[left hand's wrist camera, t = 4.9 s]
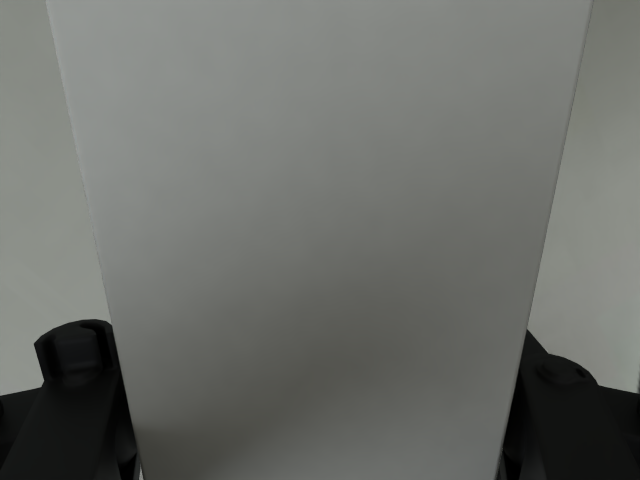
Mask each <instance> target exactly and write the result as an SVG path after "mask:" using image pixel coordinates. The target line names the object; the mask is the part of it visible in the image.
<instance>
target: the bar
mask: <svg viewBox="0 0 640 480" xmlns="http://www.w3.org/2000/svg"><path fill="white" fill-rule="evenodd" d="M593 2H594V0H46V5H47V10H48V15H49V20H50V25H51V29H52V34H53V39H54V44H55V49H56V54H57V59H58V64H59V69H60V73H61V78H62V83H63V88H64V93H65V98H66V103H67V108H68V113H69V117H70V122H71V127H72V132H73V137H74V142H75V147H76V152H77V156H78V161H79V166H80V171H81V176H82V181H83V186H84V191H85V196H86V200H87V205H88V210H89V215H90V220H91V225H92V230H93V235H94V240H95V244H96V249H97V254H98V259H99V264H100V269H101V274H102V279H103V284H104V288H105V293H106V298H107V303H108V308H109V313H110V318H111V323H112V328H113V332H114V337H115V342H116V347H117V352H118V357H119V362H120V367H121V371H122V376H123V381H124V386H125V391H126V396H127V401H128V406H129V411H130V415H131V420H132V425H133V430H134V435H135V440H136V445H137V450H138V455H139V459H140V464H141V469H142V474H143V479H144V480H496V477H497V472H498V467H499V462H500V457H501V452H502V447H503V443H504V438H505V433H506V428H507V423H508V418H509V413H510V408H511V403H512V398H513V394H514V389H515V384H516V379H517V374H518V369H519V364H520V359H521V354H522V350H523V345H524V340H525V335H526V330H527V325H528V320H529V315H530V310H531V306H532V301H533V296H534V291H535V286H536V281H537V276H538V271H539V266H540V261H541V257H542V252H543V247H544V242H545V237H546V232H547V227H548V222H549V217H550V213H551V208H552V203H553V198H554V193H555V188H556V183H557V178H558V173H559V169H560V164H561V159H562V154H563V149H564V144H565V139H566V134H567V129H568V124H569V120H570V115H571V110H572V105H573V100H574V95H575V90H576V85H577V80H578V76H579V71H580V66H581V61H582V56H583V51H584V46H585V41H586V36H587V32H588V27H589V22H590V17H591V12H592V7H593Z"/></svg>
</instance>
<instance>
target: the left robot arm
mask: <svg viewBox="0 0 640 480" xmlns="http://www.w3.org/2000/svg"><path fill="white" fill-rule="evenodd" d="M34 347H35V350H36V354H37V357H38V360H39V364H40V367H41V371H42V374H43V378H44V382H43V384H42V387H40V388H36V389H32V390H27V391H22V392H17V393H12V394H7V395H2V396H0V480H139V475H140V467H141V466H140V459H139V455H138V450H137V445H136V440H135V435H134V430H133V425H132V420H131V415H130V411H129V406H128V401H127V396H126V391H125V386H124V381H123V376H122V371H121V367H120V362H119V357H118V352H117V347H116V342H115V337H114V332H113V328H112V325H111V324H109V323H108V322H107V321H103V320H97V319H90V320H80V321H75V322H70V323H67V324H64V325H61V326H59V327H56V328H54V329H52V330H50V331H49V332H47V333H45V334H44V335H42V336H41V337H40V338H39V339H38V340H37V341H36V342H35V343H34ZM502 448H503V449H502V454H501V459H500V464H499V469H498V474H497V478H496V480H640V394H637V393H632V392H627V391H622V390H617V389H612V388H608V387H603V386H599V385H598V384H597V382H596V380H595V379H594V377H593V376H592V375H591V374H590V372H589V371H587V370H586V369H585V368H583V367H582V366H580V365H579V364H577V363H575V362H573V361H571V360H568V359H566V358H564V357H560V356H556V355H552V354H548V353H547V351H546V350H545V349H544V348H543V347H542V346H541V344H540V343H539V342H538V341H537V340H536V339H535V338H534V336H533V335H532V334H531V333H530V332H529V331H528V329H527V330H526V335H525V340H524V345H523V350H522V354H521V359H520V364H519V369H518V374H517V379H516V384H515V389H514V394H513V398H512V403H511V408H510V413H509V418H508V423H507V428H506V433H505V438H504V443H503V447H502Z"/></svg>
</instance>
